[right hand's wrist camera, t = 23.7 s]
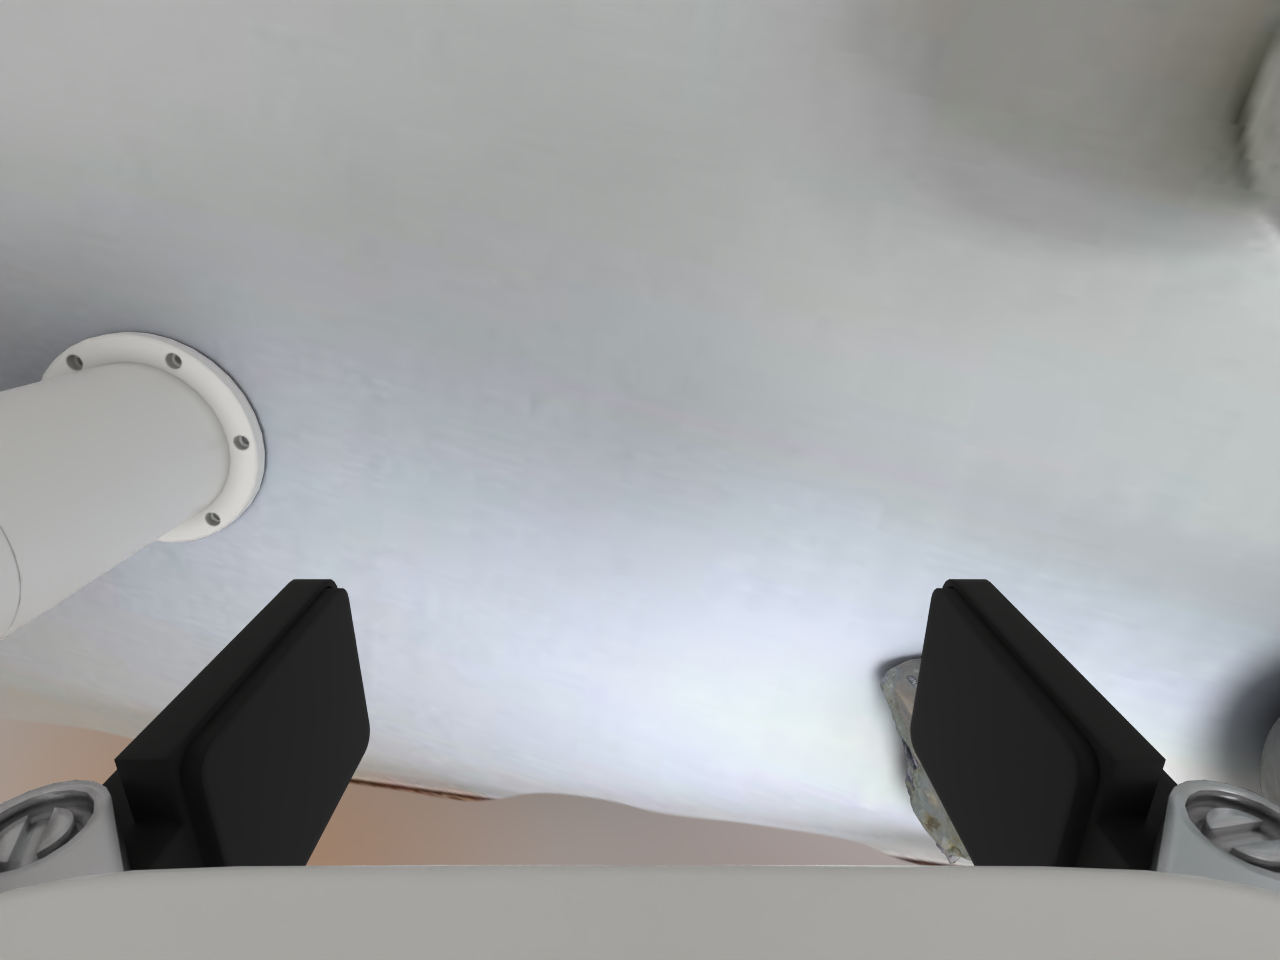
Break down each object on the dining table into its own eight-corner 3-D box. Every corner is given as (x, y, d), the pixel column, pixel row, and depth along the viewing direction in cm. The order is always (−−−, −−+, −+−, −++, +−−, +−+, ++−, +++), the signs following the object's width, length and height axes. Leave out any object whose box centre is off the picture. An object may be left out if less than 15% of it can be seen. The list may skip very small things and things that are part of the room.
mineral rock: (952, 817, 51) (1023, 952, 41) (817, 783, 50) (858, 913, 40) (1039, 677, 47) (1140, 791, 37) (893, 635, 45) (959, 742, 36)
